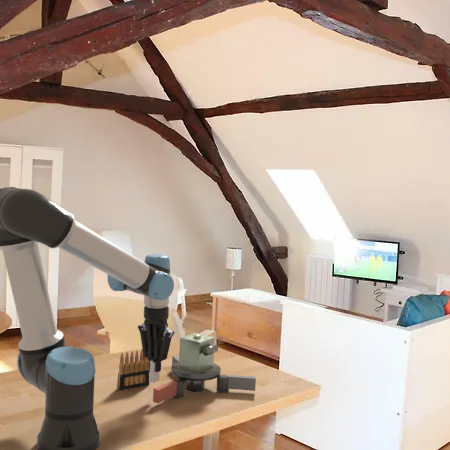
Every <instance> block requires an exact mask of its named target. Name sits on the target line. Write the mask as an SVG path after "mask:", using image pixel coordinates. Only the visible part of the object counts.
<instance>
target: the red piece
mask: <svg viewBox="0 0 450 450" xmlns="http://www.w3.org/2000/svg"><path fill="white" fill-rule="evenodd" d="M185 385H186V381H183V380H179V379H174V380H172V381H169V382H167V383H165V384H162V385H159V386H157V387H154V388H153V390H152V391H153V393H152V402H153V403H155V404H159V403H162V402H164V401H166V400H169V399H171V398H172V399H182V398H185Z"/></svg>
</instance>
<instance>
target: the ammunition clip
mask: <svg viewBox="0 0 450 450" xmlns="http://www.w3.org/2000/svg"><path fill="white" fill-rule="evenodd" d="M129 355H130V356H129ZM116 383H117V384H116V389H117V390H118V391H125V389H127V390H132V389H137V388H141V387H147V386H148V387H149V386H150V370H149V360H148V358H147V357H145V359H144V355H143V350H142V349H141V351H140V353H139V351H138V350H136V351H135V353H134V352H133V351H131V352H130V354H129V352H128V351H126V353H125V356H124V353H123V352H121V354H120V358H119V366H118V374H117V382H116ZM131 388H132V389H131Z"/></svg>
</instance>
